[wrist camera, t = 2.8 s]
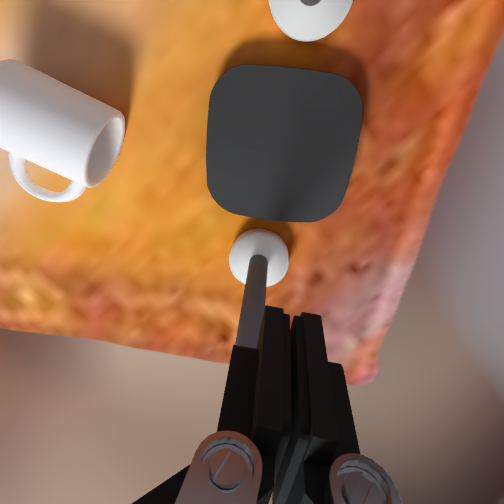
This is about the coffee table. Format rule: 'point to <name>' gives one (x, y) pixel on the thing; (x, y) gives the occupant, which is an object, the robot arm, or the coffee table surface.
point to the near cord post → (308, 17)
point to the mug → (56, 131)
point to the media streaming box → (281, 142)
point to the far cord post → (256, 277)
